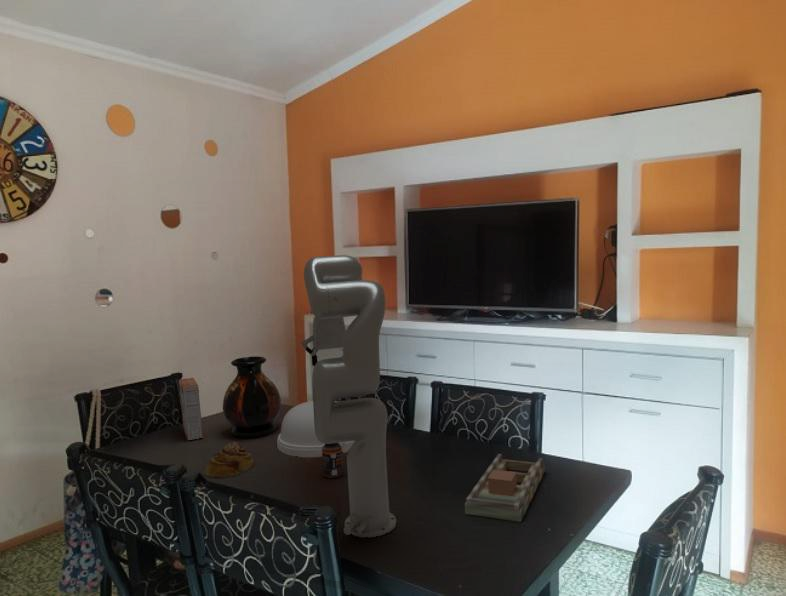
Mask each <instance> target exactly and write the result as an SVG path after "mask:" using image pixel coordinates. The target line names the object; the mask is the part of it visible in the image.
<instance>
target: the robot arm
mask: <svg viewBox="0 0 786 596" xmlns="http://www.w3.org/2000/svg"><path fill="white" fill-rule="evenodd" d="M362 274H363V267H362V264H361V262H360V261H359V260H358V259H357V258H355V257H353V256H351V255H345V254H344V255H343V254H341V255H339V254H338V255H326V256H325V255H324V256H314V257H310V258H309V259H308V260H307V261H306V263H305V266H304V270H303V281H304V286H305V290H306V295H307V298H308V299H307V300H308V303H309V308H310V314H311V315H313V316H314V317H313V321H312V335H311V336H309V337H308V338H306V339H304V340H303V341H302V342H301V344H302V346H303V349H304V350H305V352H307V353H308V354H309V355H310V356H311V365H312V366H313V369H312V378H311V379H312V380H311V382H312V385H311V386H312V401H313V408H314V427H315V433H316V436H317V439H318V440H319V441H320V442H321V443H324V444H332V443H340V442H347V441H354V442H353V444H352V446H351V448H350V449H349V450H348V452H347V455H346V466H347V467H346V468H347V484H348V497H349V498H348V499H349V501H348V502H349V515H348V517H347V518H346V519H345V521H344V528H343V533H344V534H345V535H347V536H349V535H351V534H352V536H353V535H354V537H357V536H358V537H357V538H366V537H368V538H376V536H377V537H381V536H383V535H387V534H388V533H390V532H392V531H393V530H394V529H395V527H396V526H397V518H396V516H395V515H394V514H393V513H391V512H390V504H389V503H390V502H389V487H388V470H387V467H388V465H387V453H386V451H387V450H386V448H387V447H386V446H387V444H386V443H387V441H386V439H387V426H388V410H387V407H386V405H385V403H384V402H383V401H382V400H380V399H378V398H375V397H362V398H355V397H361V396H367V395H371V394H374V393H376V392H377V390H379V386H380V383H381V382H380V380H381V370H380V369H381V368H380V367H381V363H380V362H381V361H380V333H381V329H382V325H383V322H384V317H385V313H386V295H385V290H384V288H383V286H382V285H381V284H380V283H379V282H377V281H375V280H366V279H364V280H363V276H362ZM347 317H355V318H354V319H353V320H352V321H351V322H350V324H349V325H348V326H347V328H346V323H345V319H344V318H347ZM311 342H312V344H313V348H312V349H311V348H310V347H309V346H308V344H310V343H311ZM341 348H342V356H340V357H331V358H324V359H321V360H319V361H318V356H317V353H318V351H321V350H331V349H333V350H334V349H341ZM353 397H354V399H347V398H353ZM339 399H347V400H339ZM337 400H339V401H338V402H335V401H337ZM386 533H387V534H386Z"/></svg>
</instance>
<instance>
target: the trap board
mask: <svg viewBox="0 0 786 596" xmlns="http://www.w3.org/2000/svg"><path fill="white" fill-rule="evenodd" d="M545 466H546V465H545V463H544V462H543V458H541V457H539V458H538V459H537V461H536V462H535V461H533V462H532V461H525V460H524V461H523V460H513V459H504V458H503V457H502V453H498V454H497V455H496V457H495V458H494V459H493V461H492V462H491V464H490V465H489V466H488V468H487V469H486V470H485V472H484V473H483V475H482V476H480V479H479V480H478V481H477V483H476V485H475V486H474V487H473V488H472V490H471V491H470V493H469V494H468V496H467V497H466V499H465V500H466V502H465V503H464V514H465V515H471V516H479V517H485V518H493V519H499V520H505V521H512V522H518V523H519V522H521V523H522V520H523V518H524V516H525V515H526V512H527V510H528V508H529V506H530V504H531V502H532V500H533V497H534V495H535V493H536V491H537V489H538V487H539V484H540V483H541V481H542V479H543V476H544V475H545V471H546V469H545ZM493 470H502V471H508V470H511V471H512V470H513V471H515V472H516V477H517V483H520V484H517V487H516V489H515V491H514V493H513V494H512V496H507V495H500V494H492V493H489V488H488V478H489V476H490V475H491V473H492V472H493ZM517 471H519V472H517ZM520 471H521V472H520ZM526 472H527V473H526Z"/></svg>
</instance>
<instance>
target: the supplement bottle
mask: <svg viewBox="0 0 786 596" xmlns="http://www.w3.org/2000/svg"><path fill="white" fill-rule="evenodd" d="M321 458H322V471H323V472H322V473H323V476H324V477H325V478H328V479H336V478H339V477H341V476H343V474H344V467H343V466H344V465H343V453H342V447H341V445H340V444H339V443H332V444H325V445H324V446H323V447H322V457H321Z"/></svg>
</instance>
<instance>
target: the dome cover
mask: <svg viewBox="0 0 786 596" xmlns="http://www.w3.org/2000/svg"><path fill="white" fill-rule="evenodd" d="M335 402H339V401H337V400H335ZM281 422H282V423H281V426H280V427H281V428H280V433H279V434H278V437H277V440H276V442H277V446H276V449H277V450H278V449H279V450H278V451H279V452H280V451H281V452H282V454H283V453H284V455H286V454H287V456H290V455H291V456H290V457H295V456H298V458H320V457H321V458H322V447H323V446H324V445H325V444H324V443H321V442H320V441H319V440H318V439H317V436H316V433H315V427H314V408H313V400H310V401H306V402H302V403H299V404H297V405H294V407H291V408H290V409H289V410H288V411H287V412H286V414H285V415H284V417H283V419H282V421H281ZM353 442H354V441H347V442H340V443H339V444H340V445H341V447H342V452H343V453H342V454H347V453H348V452H349V449H350V448H351V446H352V444H353ZM281 452H280V453H281ZM346 452H347V453H346Z"/></svg>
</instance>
